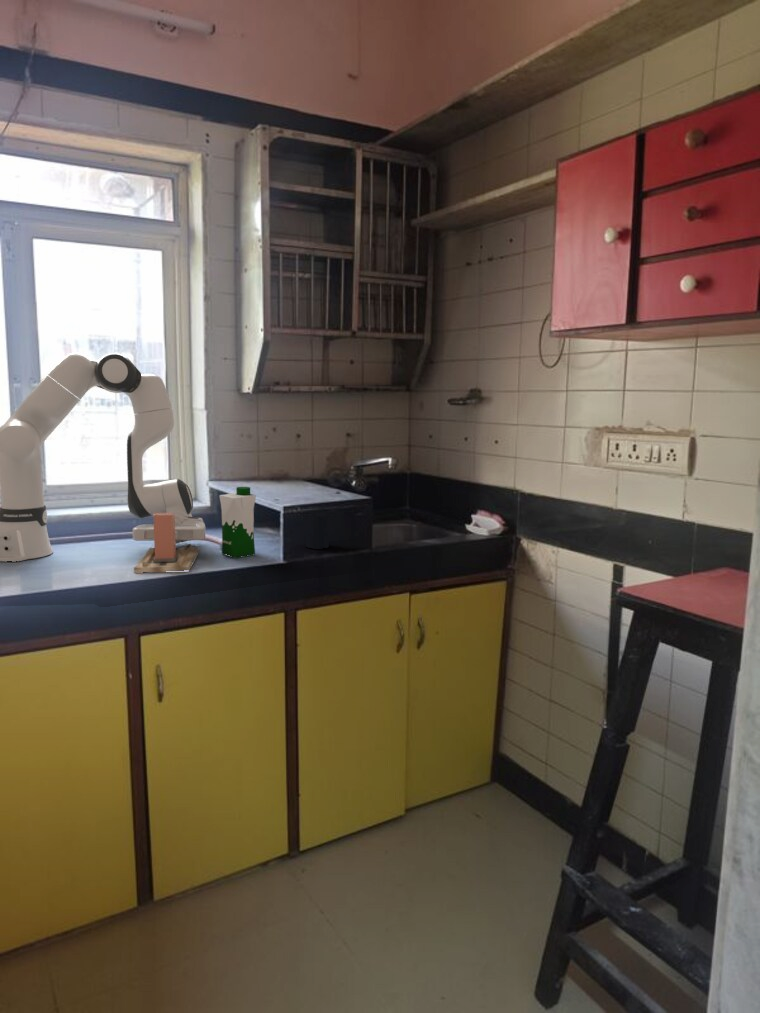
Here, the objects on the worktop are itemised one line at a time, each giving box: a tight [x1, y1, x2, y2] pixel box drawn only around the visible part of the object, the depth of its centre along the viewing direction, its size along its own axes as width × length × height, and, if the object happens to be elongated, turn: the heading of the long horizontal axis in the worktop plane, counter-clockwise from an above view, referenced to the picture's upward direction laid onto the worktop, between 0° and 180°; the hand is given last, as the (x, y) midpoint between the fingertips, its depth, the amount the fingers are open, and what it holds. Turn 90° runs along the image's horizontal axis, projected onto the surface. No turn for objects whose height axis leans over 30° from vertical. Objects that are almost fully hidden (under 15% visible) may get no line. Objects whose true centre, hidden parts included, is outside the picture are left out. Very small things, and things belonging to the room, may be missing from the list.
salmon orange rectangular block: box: [152, 513, 178, 562], centre depth 193 cm, size 6×5×13 cm
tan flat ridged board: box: [133, 543, 199, 574], centre depth 199 cm, size 14×24×3 cm, turn 8°
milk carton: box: [219, 486, 256, 558], centre depth 208 cm, size 9×9×20 cm
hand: (166, 538), depth 195 cm, fingers closed, pressing on salmon orange rectangular block
